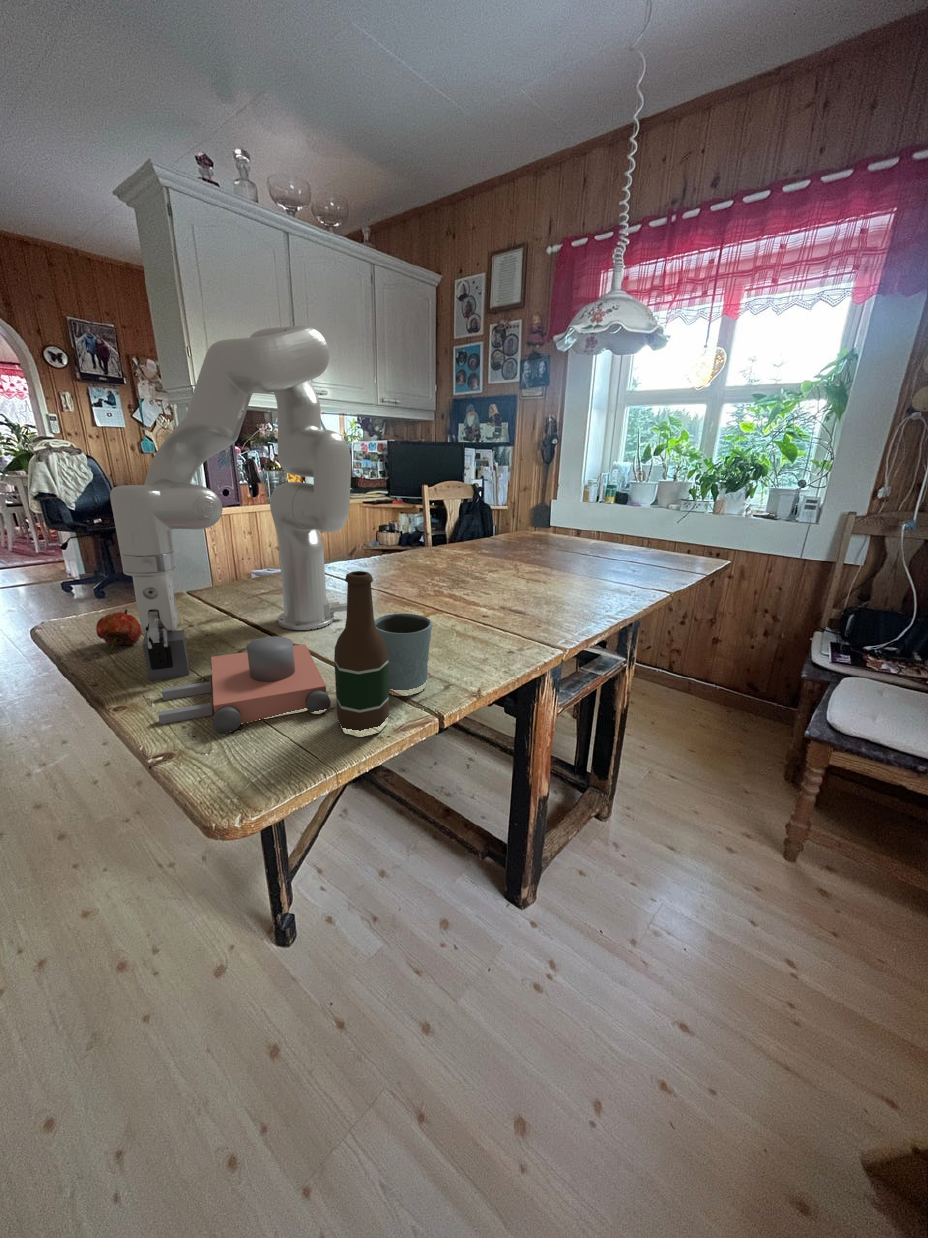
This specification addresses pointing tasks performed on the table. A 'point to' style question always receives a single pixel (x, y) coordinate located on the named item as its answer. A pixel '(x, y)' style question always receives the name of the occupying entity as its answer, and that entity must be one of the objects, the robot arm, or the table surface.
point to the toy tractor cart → (254, 685)
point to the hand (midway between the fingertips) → (164, 657)
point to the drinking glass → (406, 648)
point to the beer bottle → (361, 661)
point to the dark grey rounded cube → (178, 656)
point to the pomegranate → (119, 629)
